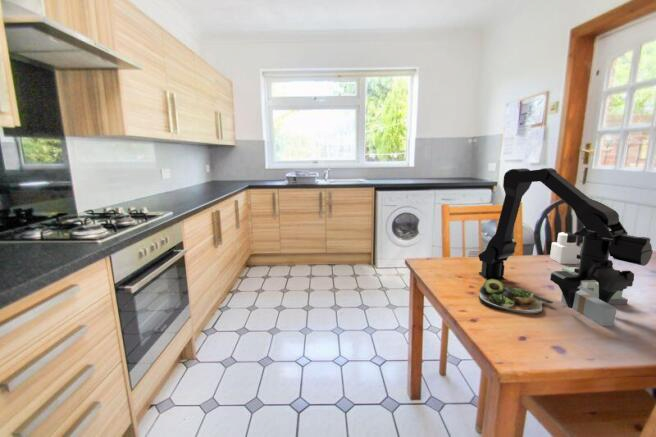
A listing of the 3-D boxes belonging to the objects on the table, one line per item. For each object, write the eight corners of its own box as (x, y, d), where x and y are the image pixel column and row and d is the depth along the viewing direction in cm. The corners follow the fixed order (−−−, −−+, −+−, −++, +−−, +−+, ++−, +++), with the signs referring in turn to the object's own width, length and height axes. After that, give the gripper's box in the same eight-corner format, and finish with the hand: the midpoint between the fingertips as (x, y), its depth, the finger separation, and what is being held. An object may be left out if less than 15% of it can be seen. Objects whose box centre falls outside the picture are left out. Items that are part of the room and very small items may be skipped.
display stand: (600, 304, 91) (603, 289, 90) (555, 280, 109) (557, 267, 108) (626, 304, 91) (629, 288, 90) (577, 280, 109) (579, 266, 108)
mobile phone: (578, 241, 139) (579, 249, 127) (587, 242, 137) (589, 250, 126) (577, 252, 140) (577, 260, 128) (585, 253, 138) (587, 261, 126)
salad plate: (548, 296, 98) (550, 283, 97) (556, 323, 83) (558, 307, 82) (481, 285, 107) (482, 272, 106) (476, 307, 92) (478, 292, 91)
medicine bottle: (567, 258, 131) (571, 231, 129) (578, 264, 124) (583, 235, 122) (549, 258, 132) (553, 231, 129) (559, 264, 125) (564, 235, 122)
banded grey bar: (602, 326, 80) (605, 308, 79) (561, 301, 94) (563, 285, 93) (613, 325, 80) (616, 308, 79) (570, 300, 94) (573, 285, 93)
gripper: (585, 265, 76) (576, 323, 79) (660, 263, 76) (648, 321, 79) (552, 251, 87) (545, 302, 90) (617, 249, 87) (608, 301, 90)
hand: (585, 307), depth 87 cm, fingers open, 9 cm apart
